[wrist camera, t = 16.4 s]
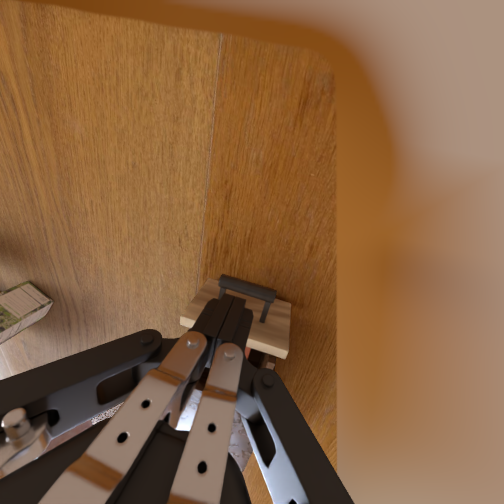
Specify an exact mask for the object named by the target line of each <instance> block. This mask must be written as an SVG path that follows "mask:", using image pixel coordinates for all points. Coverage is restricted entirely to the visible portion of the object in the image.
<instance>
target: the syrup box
mask: <svg viewBox="0 0 504 504" xmlns="http://www.w3.org/2000/svg"><path fill="white" fill-rule="evenodd" d="M53 302H54V301H53V300H52V299H50V298H49V297H48V296H46V295H45V294H44V293H43V292H42V291H40V290H39V289H38V288H36V287H35V286H34V285H33V284H31V283H30V282H29V281H25V282H23V283H21V284H19V285H17V286H14V287H12V288H10V289H8V290H5V291H3V292H1V293H0V344H2V343H4V342H5V341H7V340H8V339H10V338H11V337H13V336H15V335H16V334H18V333H20V332H21V331H23V330H24V329H26V328H28V327H29V326H31V325H32V324H34V323H36V322H37V321H39V320H40V319H42V318H44V317H45V315H46V314H47V312H48V311H49V309H50V307H51V306H52V304H53Z"/></svg>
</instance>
